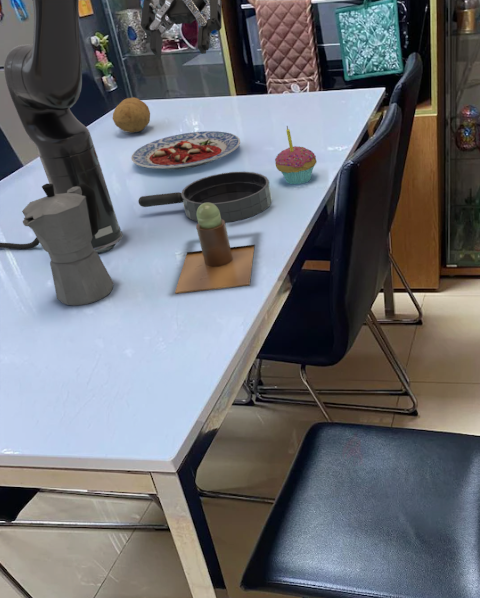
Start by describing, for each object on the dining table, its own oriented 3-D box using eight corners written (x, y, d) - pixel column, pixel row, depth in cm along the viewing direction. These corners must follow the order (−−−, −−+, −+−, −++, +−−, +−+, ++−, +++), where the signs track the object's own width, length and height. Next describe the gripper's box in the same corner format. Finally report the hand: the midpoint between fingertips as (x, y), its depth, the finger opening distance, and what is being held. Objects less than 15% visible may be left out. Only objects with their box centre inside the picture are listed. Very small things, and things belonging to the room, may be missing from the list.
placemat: (175, 293, 113) (175, 292, 113) (190, 242, 129) (190, 240, 129) (249, 285, 113) (249, 283, 113) (256, 234, 129) (255, 233, 128)
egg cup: (199, 265, 120) (185, 208, 114) (213, 253, 123) (200, 197, 117) (224, 267, 118) (211, 209, 112) (237, 255, 122) (225, 198, 115)
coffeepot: (84, 315, 110) (41, 202, 99) (37, 309, 114) (-9, 199, 102) (140, 271, 121) (108, 164, 110) (96, 266, 124) (60, 162, 113)
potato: (154, 121, 197) (147, 90, 192) (153, 135, 187) (144, 103, 182) (119, 126, 197) (110, 96, 192) (116, 141, 186) (106, 108, 181)
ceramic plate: (168, 185, 155) (164, 171, 153) (115, 163, 171) (111, 150, 169) (262, 151, 167) (260, 138, 165) (205, 134, 183) (202, 122, 181)
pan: (181, 231, 133) (175, 208, 130) (192, 198, 146) (187, 177, 144) (270, 221, 133) (266, 198, 130) (273, 189, 146) (270, 167, 143)
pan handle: (139, 209, 138) (136, 199, 136) (141, 205, 139) (138, 195, 138) (184, 203, 137) (182, 193, 136) (186, 200, 139) (183, 190, 138)
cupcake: (313, 190, 144) (305, 128, 136) (273, 191, 145) (263, 130, 138) (322, 175, 150) (315, 115, 142) (284, 176, 152) (275, 117, 144)
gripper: (138, -46, 124) (131, 42, 123) (215, -54, 121) (209, 35, 120) (157, -15, 131) (151, 68, 130) (230, -22, 129) (224, 63, 127)
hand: (179, 52), depth 125 cm, fingers open, 8 cm apart
